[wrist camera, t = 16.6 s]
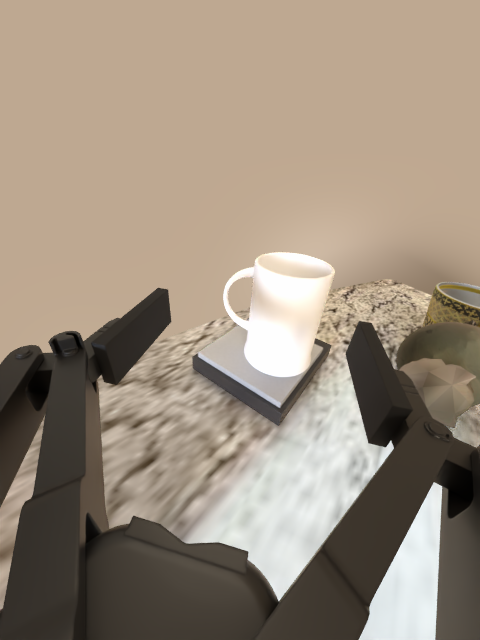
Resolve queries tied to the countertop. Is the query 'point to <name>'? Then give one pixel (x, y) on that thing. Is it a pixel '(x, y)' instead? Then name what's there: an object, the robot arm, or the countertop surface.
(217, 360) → the scale
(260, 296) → the mug
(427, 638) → the countertop surface
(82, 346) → the robot arm
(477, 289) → the ceramic cup
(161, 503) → the countertop surface
